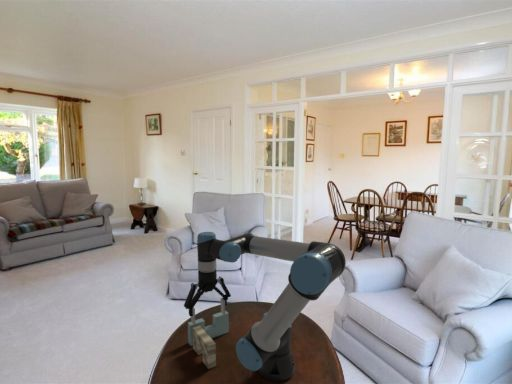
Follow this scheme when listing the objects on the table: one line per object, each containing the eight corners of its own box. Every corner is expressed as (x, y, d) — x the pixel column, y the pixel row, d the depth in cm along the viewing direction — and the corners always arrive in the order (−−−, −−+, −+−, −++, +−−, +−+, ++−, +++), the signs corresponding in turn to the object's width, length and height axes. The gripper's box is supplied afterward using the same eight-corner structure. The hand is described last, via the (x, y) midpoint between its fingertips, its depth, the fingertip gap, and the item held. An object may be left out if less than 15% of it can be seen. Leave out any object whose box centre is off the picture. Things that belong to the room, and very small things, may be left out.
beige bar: (216, 365, 126) (215, 343, 125) (208, 369, 124) (207, 346, 123) (200, 346, 139) (200, 325, 138) (193, 348, 137) (192, 328, 136)
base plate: (225, 329, 152) (225, 310, 151) (228, 332, 150) (228, 313, 149) (188, 342, 141) (187, 322, 140) (190, 346, 139) (190, 325, 138)
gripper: (229, 261, 135) (230, 306, 137) (174, 272, 121) (176, 322, 123) (238, 266, 128) (238, 313, 130) (180, 279, 115) (182, 331, 117)
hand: (208, 318), depth 127 cm, fingers open, 13 cm apart
